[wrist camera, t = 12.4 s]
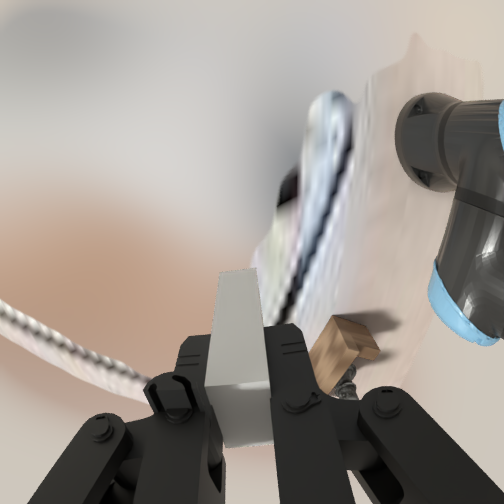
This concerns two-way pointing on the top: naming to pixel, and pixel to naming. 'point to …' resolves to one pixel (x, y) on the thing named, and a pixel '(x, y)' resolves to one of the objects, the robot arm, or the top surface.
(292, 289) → the top surface
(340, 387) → the grey chess piece
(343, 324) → the brown wooden u-shaped block
